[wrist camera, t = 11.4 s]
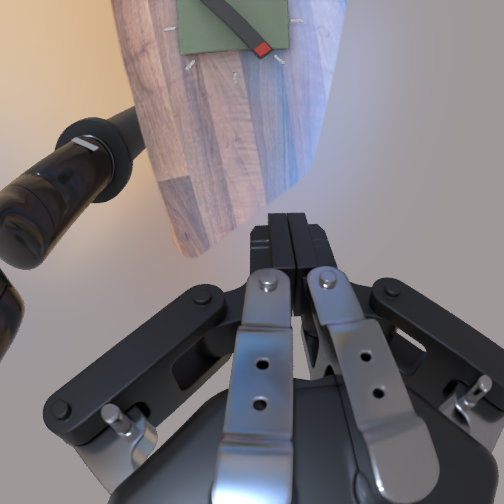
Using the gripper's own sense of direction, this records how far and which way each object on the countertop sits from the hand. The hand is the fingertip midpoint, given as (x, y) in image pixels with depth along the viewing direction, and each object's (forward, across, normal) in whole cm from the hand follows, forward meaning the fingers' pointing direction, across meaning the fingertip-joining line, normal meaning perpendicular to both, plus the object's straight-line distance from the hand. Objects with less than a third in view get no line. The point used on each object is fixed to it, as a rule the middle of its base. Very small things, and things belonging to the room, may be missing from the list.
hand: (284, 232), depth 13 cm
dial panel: (+27, +3, -13) cm, 30 cm away
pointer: (+24, +3, -12) cm, 27 cm away
